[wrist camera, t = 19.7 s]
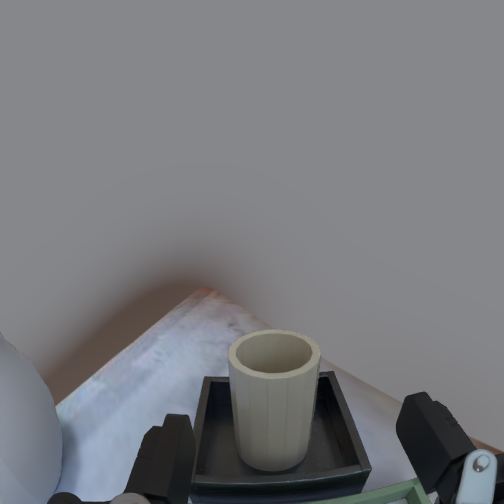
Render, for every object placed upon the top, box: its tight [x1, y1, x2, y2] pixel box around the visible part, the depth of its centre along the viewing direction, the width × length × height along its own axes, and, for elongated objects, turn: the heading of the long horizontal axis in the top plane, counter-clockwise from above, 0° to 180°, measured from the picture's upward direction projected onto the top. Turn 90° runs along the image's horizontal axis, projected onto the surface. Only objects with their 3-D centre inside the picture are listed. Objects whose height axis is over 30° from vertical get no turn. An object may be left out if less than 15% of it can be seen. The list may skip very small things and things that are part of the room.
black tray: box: [189, 371, 372, 504], centre depth 23 cm, size 14×14×4 cm
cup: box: [228, 329, 321, 472], centre depth 22 cm, size 7×7×11 cm
